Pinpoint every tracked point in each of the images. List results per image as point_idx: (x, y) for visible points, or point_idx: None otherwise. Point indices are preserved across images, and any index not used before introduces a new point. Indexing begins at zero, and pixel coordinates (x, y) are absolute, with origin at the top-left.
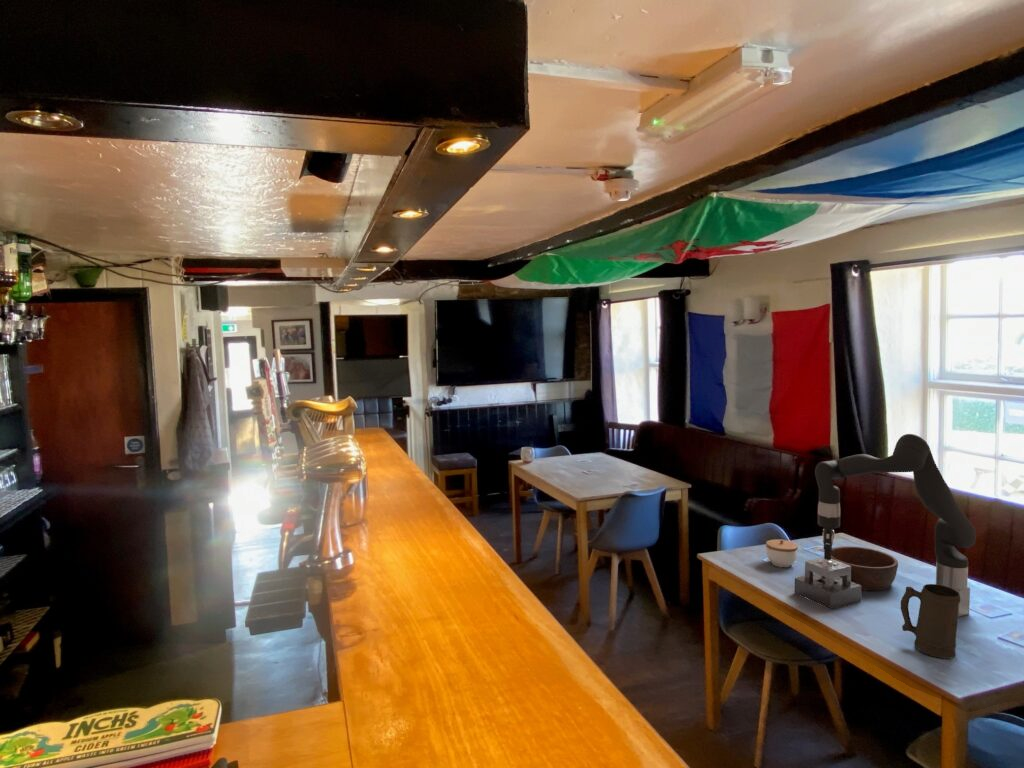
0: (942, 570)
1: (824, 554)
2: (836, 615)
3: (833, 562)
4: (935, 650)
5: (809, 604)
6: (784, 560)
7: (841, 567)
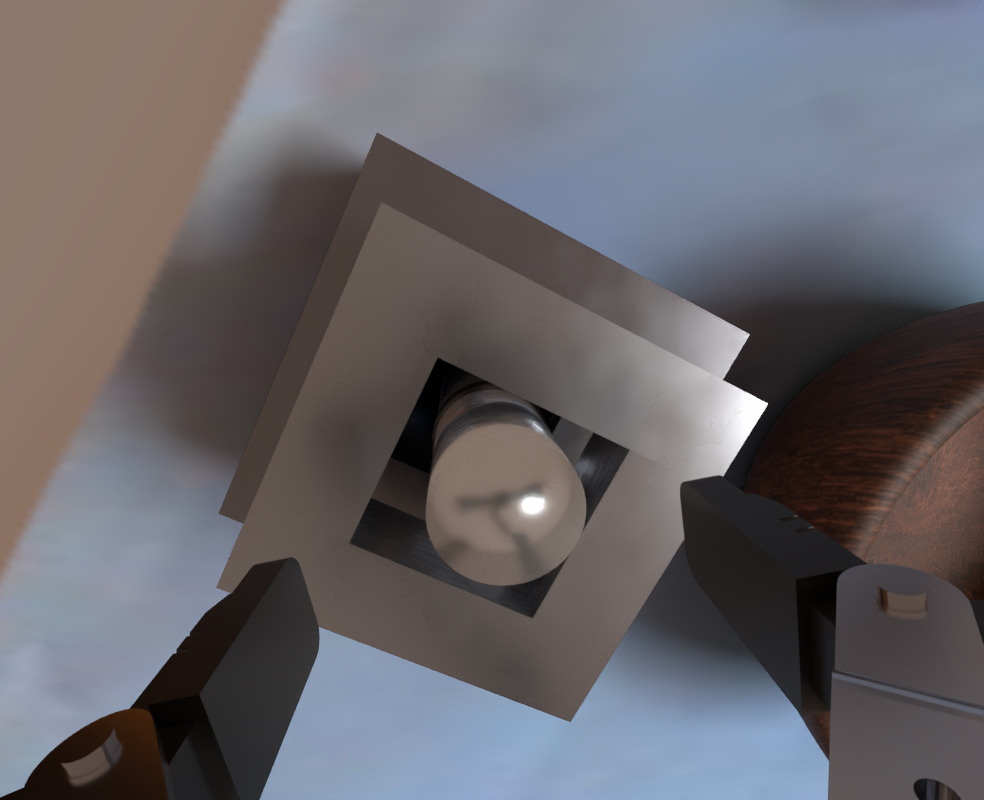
0: None
1: (215, 616)
2: (208, 512)
3: (485, 582)
4: None
5: (261, 325)
6: None
7: (452, 654)
